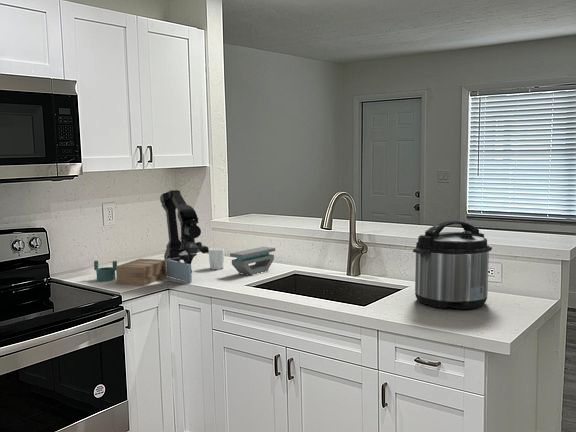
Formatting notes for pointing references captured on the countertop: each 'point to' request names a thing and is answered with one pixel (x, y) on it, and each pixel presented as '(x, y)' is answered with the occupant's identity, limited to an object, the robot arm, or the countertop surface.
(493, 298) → the countertop surface
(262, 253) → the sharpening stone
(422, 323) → the countertop surface
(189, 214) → the robot arm
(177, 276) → the cabinet door
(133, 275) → the walnut cabinet
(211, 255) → the white cup
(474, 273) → the pressure cooker
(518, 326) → the countertop surface
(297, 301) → the countertop surface
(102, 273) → the bracket
